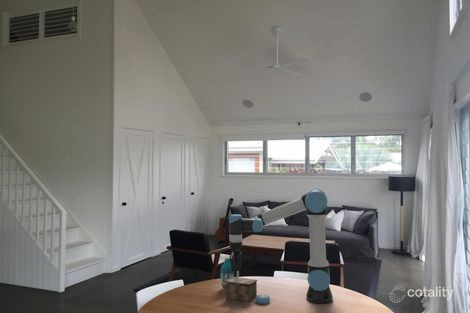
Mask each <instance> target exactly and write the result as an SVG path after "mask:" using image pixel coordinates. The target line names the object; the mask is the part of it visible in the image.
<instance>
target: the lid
mask: <svg viewBox="0 0 470 313" xmlns="http://www.w3.org/2000/svg"><path fill="white" fill-rule="evenodd" d="M225 282H228V283H234V287H240V284H242V285H251V284H253V283H255V282H258V279H253V278H247V277H246V278H245V277H239V282H238V283H236V282H234V277H232V278H230V279H228V280H226V281H225Z"/></svg>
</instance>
